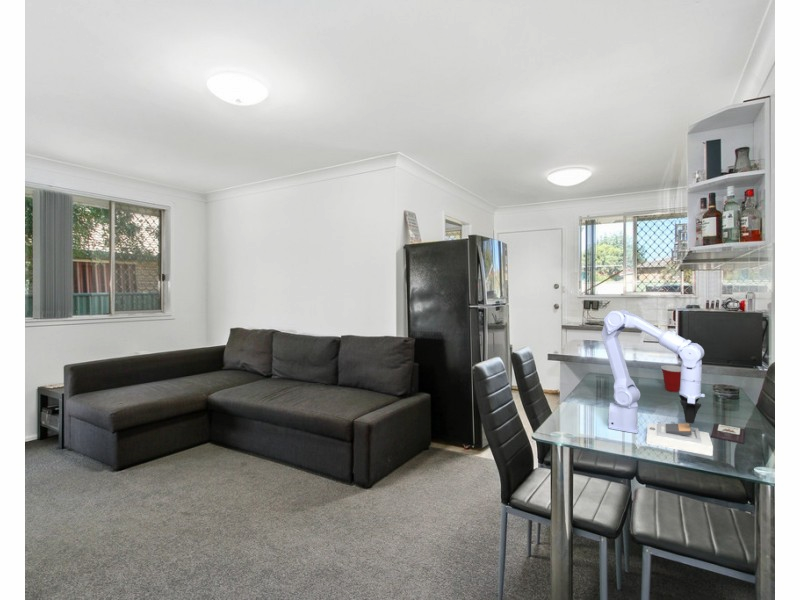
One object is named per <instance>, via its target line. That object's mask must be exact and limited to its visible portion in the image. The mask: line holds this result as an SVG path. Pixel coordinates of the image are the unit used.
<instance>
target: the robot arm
mask: <svg viewBox="0 0 800 600" xmlns="http://www.w3.org/2000/svg"><path fill="white" fill-rule="evenodd" d="M603 322H604V323H603V325H602V326H603V327H602V330H601V338H602V342H603V345H604V348H605V352H606V355H607V358H608V362H609V365H610V368H611V371H612V375H613V377H614V378H613V379H614V383H613V399H614V402H610V403H609V410H608V420H607V422H608V427H607V429H611V430H614V431H615V430H616V431H622V432H627V433H632V434H638V433H639V425H638V411H639V410H638V409H639V405H638V401H639V399H640V398H641V392H640V390H639V389H638V387H637V386H636V384H635V381H634V380H633V379H632V378H631V377H630V373H629V369H628V365H627V364H626V359H625V357H624V353H623V350H622V346H621V343H620V339H619V336H620V334H621V333H622V332H623V330H625V329H626V328H636V329H638V330H639V331H641V332H643V333H645V334H647V335H649V336H652V337H653V338H654V339H657V341H658V345H661V346H662V347H664V348H665V349H667V350H669V351H671V352H672V353H674V354H676V355H679V357H680V359H681V366H680V367H681V381H680V389H679V392H678V393H679V397H680V401H679V402H680V404H681V406H682V409H683V415H684V420H685V423H689V424H694V423H695V421H696V416H697V413H698V412H699V409H700V408H701V407H702V403H698V401H699V400H700V399H701V398H705V397H706V394H705V393H701V392H702V373H703V370H702V369H703V368H702V366H703V365H702V363H703V361H702V359H703V357H704V356H705V350H704V348H703V346H701V345H700V344H698V343H697V342H695V343H694V342H692V340H690V339H686V338H684V337H682V336H680V335H678V332H677V331H674V330H672V331H671V330H665V331H663V330H662V329H660V328H658V327H657V326H656V325H654V324H652V323H651V322H649V321H648V320H645V319H644V318H642V317H640V316H638V315H637V314H635V313H632V312H630V311H628V310H626V309H621V310H612V311H610V312H608V313H607V315H606V316H605V317H604V318H603Z"/></svg>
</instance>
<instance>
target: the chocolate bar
mask: <svg viewBox="0 0 800 600" xmlns="http://www.w3.org/2000/svg"><path fill="white" fill-rule="evenodd" d="M745 429H746V428H741V427H735V426H731V425H725V424H719V423H714V425H713V428H712V431H711V435H710V439H716V440H722V441H727V442H730V443H731V442H732V443H737V444H741V445H744V442H745V433H746V430H745Z"/></svg>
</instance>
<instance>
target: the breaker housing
mask: <svg viewBox="0 0 800 600" xmlns="http://www.w3.org/2000/svg"><path fill="white" fill-rule="evenodd" d="M666 424H670V423H667V422H662V421H657V423H652V422H647V428H646V441H645V443H646V445H647V444H648V445H653V446H657V447H661V448H667V449H673V450H677V451H683V452H688V453H694V454H699V455H703V456H710V457H713V455H714V453H713V452H714V446H713V442H712V438H711V435H710V433H709V432H705V431H700V430H699V428H698V427H692V426H690V429H691V434H692V435H681V436H680V435H675V434H669V433H666Z"/></svg>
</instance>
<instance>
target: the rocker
mask: <svg viewBox="0 0 800 600" xmlns="http://www.w3.org/2000/svg"><path fill="white" fill-rule="evenodd" d="M690 427H691V423H686V422H685V423H683V422H682V423H669V424H666V433H669V434H675V435H680V436H681V435H692V434H691V429H690Z"/></svg>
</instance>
